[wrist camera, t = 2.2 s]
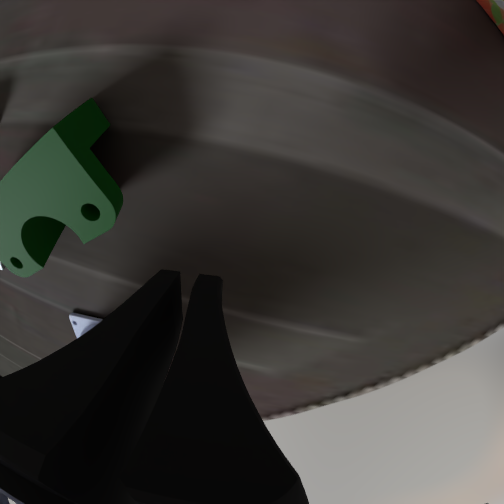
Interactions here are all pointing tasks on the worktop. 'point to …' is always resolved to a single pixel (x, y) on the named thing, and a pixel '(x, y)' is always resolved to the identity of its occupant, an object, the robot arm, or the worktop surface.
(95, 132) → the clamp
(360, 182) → the worktop surface
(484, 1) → the cracker box
